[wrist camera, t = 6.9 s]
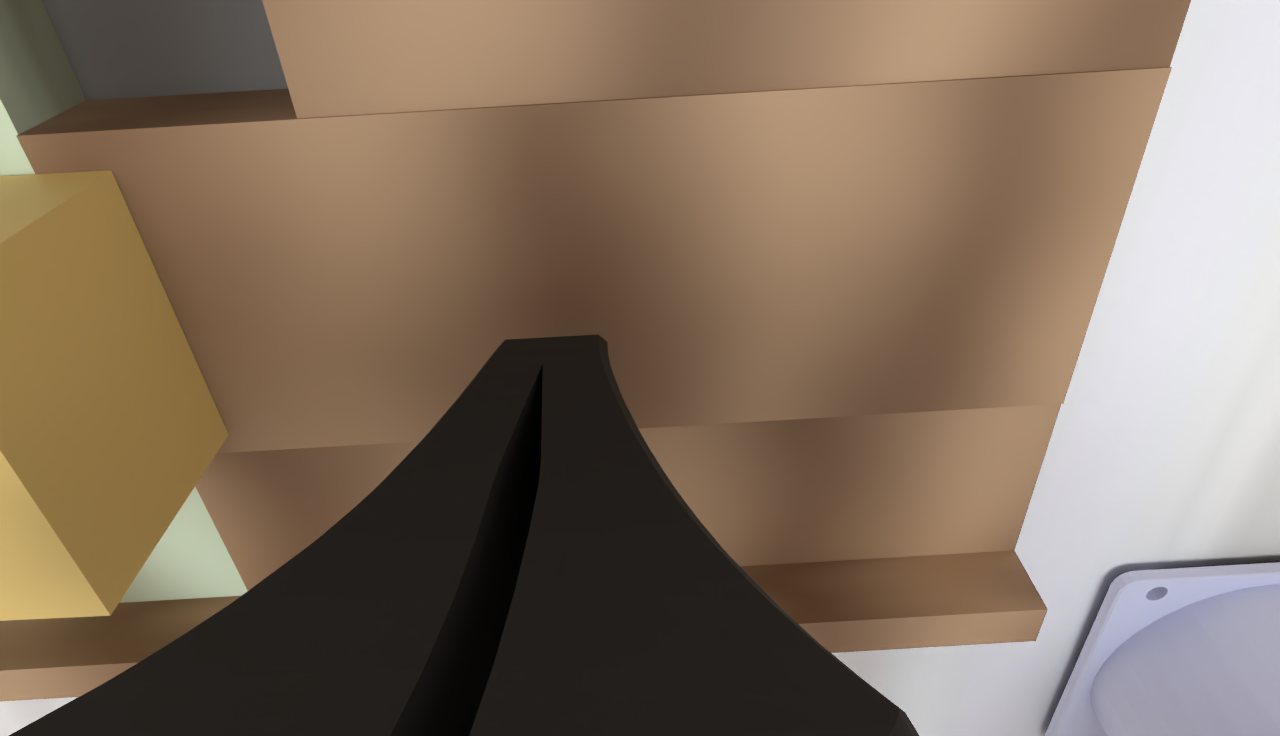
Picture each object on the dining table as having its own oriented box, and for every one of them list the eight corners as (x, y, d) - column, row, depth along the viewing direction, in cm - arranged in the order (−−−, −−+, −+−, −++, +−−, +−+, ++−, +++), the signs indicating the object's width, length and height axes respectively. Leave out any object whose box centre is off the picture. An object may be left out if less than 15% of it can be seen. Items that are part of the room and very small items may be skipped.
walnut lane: (1209, -380, 10) (1570, -510, 6) (970, 518, 19) (1058, 684, 15) (-591, -273, 10) (-1306, -338, 6) (27, 573, 19) (-114, 752, 15)
